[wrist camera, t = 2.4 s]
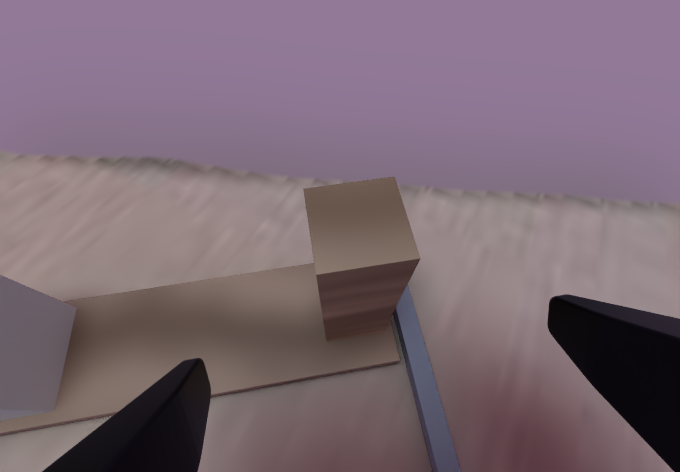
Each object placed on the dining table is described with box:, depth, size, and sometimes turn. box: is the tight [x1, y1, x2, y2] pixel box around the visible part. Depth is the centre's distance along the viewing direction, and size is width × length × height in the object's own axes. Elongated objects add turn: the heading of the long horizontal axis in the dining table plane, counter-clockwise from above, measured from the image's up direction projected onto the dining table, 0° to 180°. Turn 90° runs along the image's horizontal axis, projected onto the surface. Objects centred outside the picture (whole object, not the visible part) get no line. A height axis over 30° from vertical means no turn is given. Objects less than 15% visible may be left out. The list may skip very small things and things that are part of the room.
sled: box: [0, 177, 420, 436], centre depth 14 cm, size 6×22×10 cm, turn 100°
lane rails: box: [393, 284, 461, 472], centre depth 15 cm, size 17×25×1 cm
